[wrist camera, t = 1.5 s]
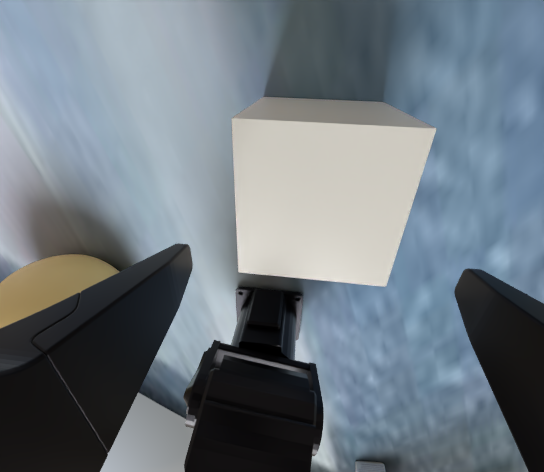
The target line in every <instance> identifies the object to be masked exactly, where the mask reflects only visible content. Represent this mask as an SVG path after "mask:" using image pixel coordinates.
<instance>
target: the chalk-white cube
mask: <svg viewBox="0 0 544 472" xmlns="http://www.w3.org/2000/svg"><path fill="white" fill-rule="evenodd" d="M435 132H436V128H434V127H432V126H430V125H428V124H426V123H424V122H422V121H420V120H418V119H416V118H414V117H412V116H410V115H408V114H406V113H404V112H402V111H400V110H398V109H396V108H394V107H392V106H390V105H388V104H386V103H384V102H373V101H350V100H327V99H304V98H281V97H262V98H261V99H259V100H258V101H256V102H255V103H253V104H252V105H250V106H249V107H247V108H246V109H244V110H243V111H242V112H240V113H239V114H237V115H236V116H234V117H233V118H232V139H233V162H234V185H235V208H236V230H237V253H238V272H240V273H250V274H260V275H271V276H281V277H291V278H302V279H312V280H322V281H333V282H343V283H353V284H364V285H374V286H384V287H386V285H387V282H388V279H389V276H390V272H391V269H392V266H393V263H394V260H395V257H396V254H397V251H398V248H399V244H400V241H401V238H402V235H403V232H404V229H405V226H406V223H407V219H408V216H409V213H410V210H411V207H412V204H413V201H414V198H415V194H416V191H417V188H418V185H419V182H420V179H421V176H422V173H423V170H424V166H425V163H426V160H427V157H428V154H429V151H430V148H431V145H432V141H433V138H434V135H435Z"/></svg>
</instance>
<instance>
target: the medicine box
mask: <svg viewBox="0 0 544 472" xmlns="http://www.w3.org/2000/svg"><path fill="white" fill-rule="evenodd" d="M355 467H356V472H386V470H385V465H384V464H383V463H379V462H368V461H356V462H355Z"/></svg>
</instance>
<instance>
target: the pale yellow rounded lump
mask: <svg viewBox="0 0 544 472" xmlns="http://www.w3.org/2000/svg"><path fill="white" fill-rule="evenodd" d="M117 273H119V271H118V270H117V269H116V268H114V267H113V266H111V265H110V264H108V263H106V262H104V261H102V260H100V259H97V258H95V257H91V256H87V255H81V254H67V255H58V256H53V257H49V258H45V259H42V260H39V261H36V262H33V263H31V264H29V265H26V266H24V267H22V268H21V269H19V270H17V271H16V272H14V273H12V274H11V275H10V276H8V277H7V278H6V279H5V280H3V281H2V282H1V283H0V328H2V327H5V326H7V325H9V324H11V323H14V322H16V321H18V320H21V319H23V318H25V317H28V316H30V315H32V314H34V313H36V312H39V311H41V310H43V309H45V308H48V307H50V306H52V305H54V304H56V303H58V302H60V301H62V300H64V299H66V298H68V297H70V296H72V295H74V294H76V293H81V291H82V290H84V289H86V288H88V287H90V286H92V285H94V284H96V283H98V282H101V281H103V280H105V279H107V278H109V277H111V276H113V275H115V274H117Z"/></svg>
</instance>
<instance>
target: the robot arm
mask: <svg viewBox="0 0 544 472" xmlns="http://www.w3.org/2000/svg"><path fill="white" fill-rule="evenodd" d="M192 265H193V264H192V257H191V251H190V247H189V245H187V244H175V245H173V246H171V247H169V248H167V249H165V250H163V251H161V252H159V253H157V254H155V255H153V256H151V257H149V258H147V259H145V260H143V261H141V262H139V263H137V264H135V265H133V266H131V267H129V268H127V269H125V270H123V271H121V272H119V273H117V274H115V275H113V276H111V277H109V278H107V279H105V280H103V281H101V282H98V283H96V284H94V285H92V286H90V287H88V288H86V289H84V290H82V291H81V293H76V294H74V295H72V296H70V297H68V298H66V299H64V300H62V301H60V302H58V303H56V304H54V305H52V306H50V307H48V308H45V309H43V310H41V311H39V312H36V313H34V314H32V315H30V316H28V317H25V318H23V319H21V320H18V321H16V322H14V323H11V324H9V325H7V326H5V327H2V328H0V472H100V470H101V468H102V466H103V464H104V462H105V460H106V458H107V455H108V454H107V453H108V452H109V451H110V449H111V447H112V445H113V443H114V441H115V438H116V437H117V435H118V432H119V430H120V428H121V426H122V424H123V422H124V420H125V418H126V416H127V414H128V412H129V410H130V408H131V406H132V404H133V401H134V399H135V397H136V395H137V393H138V391H139V389H140V387H141V385H142V383H143V381H144V379H145V377H146V375H147V373H148V371H149V369H150V366H151V364H152V362H153V360H154V358H155V356H156V354H157V352H158V350H159V348H160V346H161V344H162V342H163V340H164V338H165V336H166V333H167V331H168V329H169V327H170V325H171V323H172V321H173V319H174V317H175V315H176V313H177V311H178V308H179V306H180V303H181V300H182V298H183V295H184V292H185V289H186V286H187V283H188V280H189V277H190V274H191V271H192ZM240 291H241V292H240ZM296 297H299V298H296ZM455 297H456V300H457V303H458V307H459V310H460V313H461V316H462V319H463V322H464V325H465V328H466V331H467V334H468V337H469V340H470V342H471V344H472V347H473V349H474V351H475V353H476V356H477V358H478V360H479V362H480V364H481V367H482V369H483V371H484V373H485V376H486V378H487V380H488V382H489V385H490V387H491V389H492V391H493V393H494V396H495V398H496V400H497V402H498V405H499V407H500V409H501V411H502V413H503V416H504V418H505V420H506V422H507V425H508V427H509V429H510V431H511V433H512V436H513V438H514V440H515V442H516V445H517V447H518V449H519V451H520V453H521V456H522V458H523V460H524V462H525V465H526V467H527V469H528V471H529V472H544V304H543V303H541V302H540V301H538V300H536V299H534V298H532V297H530V296H529V295H527V294H525V293H523V292H521V291H519V290H518V289H516V288H514V287H512V286H510V285H508V284H507V283H505V282H503V281H501V280H499V279H497V278H496V277H494V276H492V275H490V274H488V273H486V272H485V271H483V270H480V269H469V268H468V269H465V270H464V271H463V273H462V275H461V277H460V279H459V281H458V283H457V285H456V287H455ZM302 304H303V295H302V294H301V293H299V292H289V291H279V290H269V289H259V288H250V287H238V288H237V290H236V309H237V325H236V329H235V333H234V336H233V340H232V343H231V345H228V344H224V343H220V341H216V340H214V342H213V344H212V346H211V348H209V349H208V351H206V352H204V354H203V356H202V359H201V362H200V364H199V367H198V369H197V371H196V373H195V375H194V376H193V378H192V380H191V382H190V383H189V385H188V387H187V388H186V391H185V393H184V400H185V402H186V405H187V411H186V414H187V418H186V427H191V428H194V430H193V434H192V437H191V441H190V445H189V448H188V452H187V455H186V459H185V464H184V468H185V472H310V469H311V460H312V456H315V455H316V453H317V451H318V449H319V446H320V442H321V437H322V430H323V402H322V396H321V391H320V385H319V380H318V374H317V369H316V364H313V363H309V364H308V363H304V362H300V361H296V360H295V341H296V340H298V338H299V329H300V321H301V312H302Z"/></svg>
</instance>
